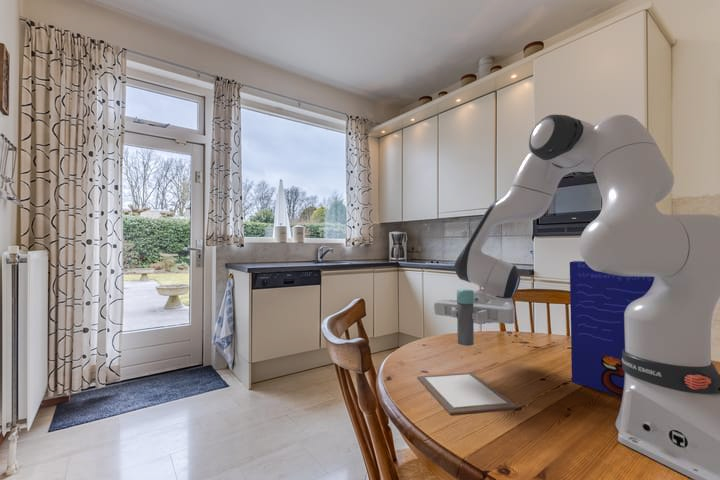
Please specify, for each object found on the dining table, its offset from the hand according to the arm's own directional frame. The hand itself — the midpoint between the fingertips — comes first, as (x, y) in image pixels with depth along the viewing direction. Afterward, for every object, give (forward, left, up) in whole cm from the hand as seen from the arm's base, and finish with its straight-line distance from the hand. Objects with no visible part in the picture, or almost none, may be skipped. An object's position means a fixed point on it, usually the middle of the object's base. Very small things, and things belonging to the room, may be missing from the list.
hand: (464, 315), depth 81 cm
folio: (-3, +2, -17) cm, 17 cm away
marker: (+1, -1, -7) cm, 7 cm away
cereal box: (-11, -35, -17) cm, 40 cm away
